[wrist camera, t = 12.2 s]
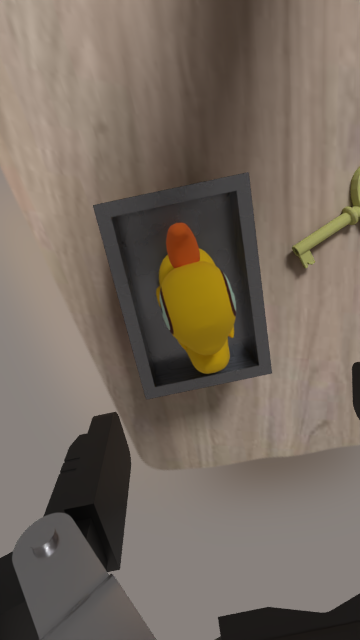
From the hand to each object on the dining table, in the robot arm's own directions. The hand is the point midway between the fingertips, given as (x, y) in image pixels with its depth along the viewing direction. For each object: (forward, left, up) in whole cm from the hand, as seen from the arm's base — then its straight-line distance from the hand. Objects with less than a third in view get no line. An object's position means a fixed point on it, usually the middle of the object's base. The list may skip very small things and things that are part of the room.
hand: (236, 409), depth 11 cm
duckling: (0, 0, -18) cm, 18 cm away
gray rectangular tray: (0, 0, -24) cm, 24 cm away
